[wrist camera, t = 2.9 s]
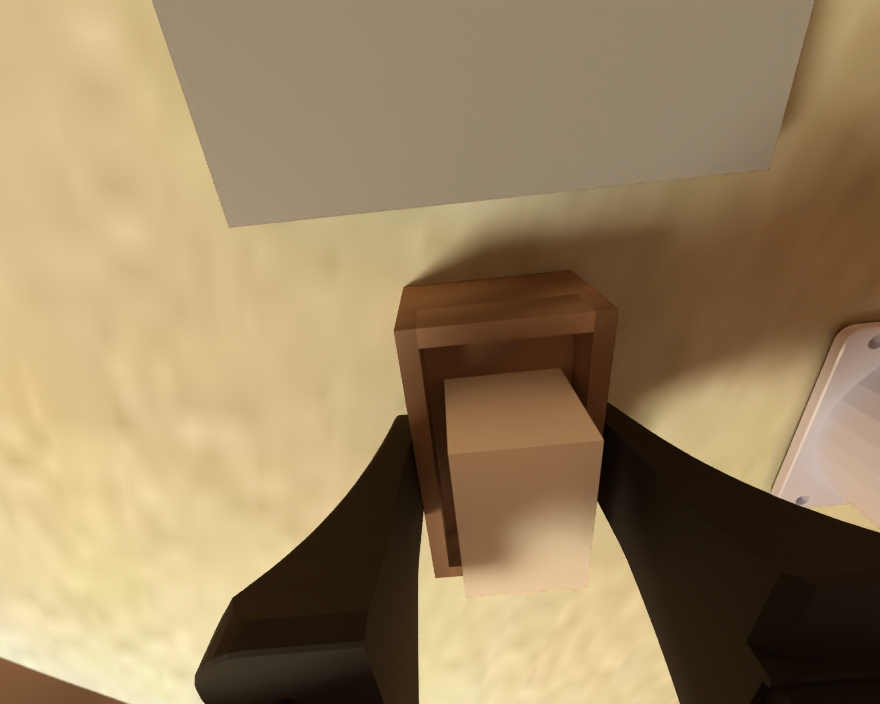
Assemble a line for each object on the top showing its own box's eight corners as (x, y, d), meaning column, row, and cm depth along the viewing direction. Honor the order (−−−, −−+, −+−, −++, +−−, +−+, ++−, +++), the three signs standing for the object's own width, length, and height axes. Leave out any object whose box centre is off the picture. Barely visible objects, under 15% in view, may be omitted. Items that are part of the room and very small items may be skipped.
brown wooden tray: (569, 269, 11) (618, 308, 8) (556, 486, 16) (586, 565, 12) (403, 285, 12) (393, 331, 9) (434, 496, 16) (435, 577, 13)
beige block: (560, 368, 10) (604, 440, 8) (554, 497, 13) (586, 588, 10) (444, 379, 11) (448, 454, 8) (459, 505, 13) (465, 597, 10)
